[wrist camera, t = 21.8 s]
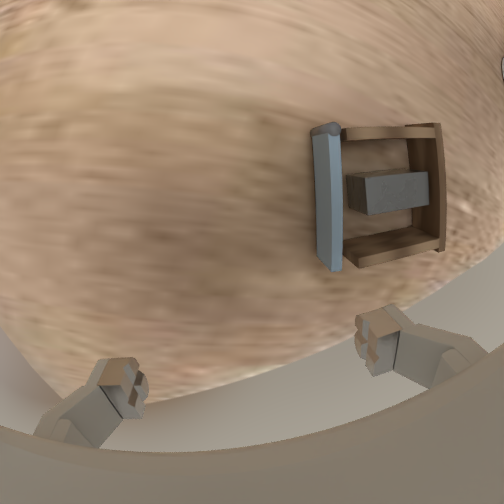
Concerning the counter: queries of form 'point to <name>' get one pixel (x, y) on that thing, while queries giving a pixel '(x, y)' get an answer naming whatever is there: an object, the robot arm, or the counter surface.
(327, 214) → the rounded end plank
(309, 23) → the counter surface
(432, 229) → the wooden u-shaped block
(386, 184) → the dark gray rectangular block
